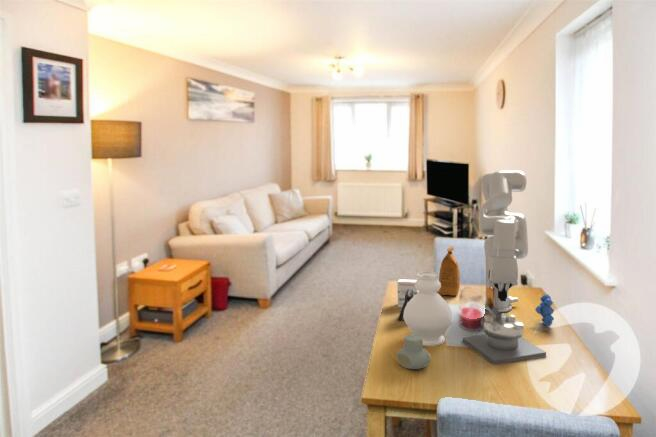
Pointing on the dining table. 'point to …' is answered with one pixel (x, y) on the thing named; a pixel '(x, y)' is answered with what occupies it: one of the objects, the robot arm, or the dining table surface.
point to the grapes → (545, 310)
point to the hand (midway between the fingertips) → (502, 300)
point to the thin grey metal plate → (503, 349)
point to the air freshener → (413, 353)
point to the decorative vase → (428, 311)
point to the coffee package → (449, 275)
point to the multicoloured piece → (500, 321)
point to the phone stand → (407, 299)
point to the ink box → (403, 287)
